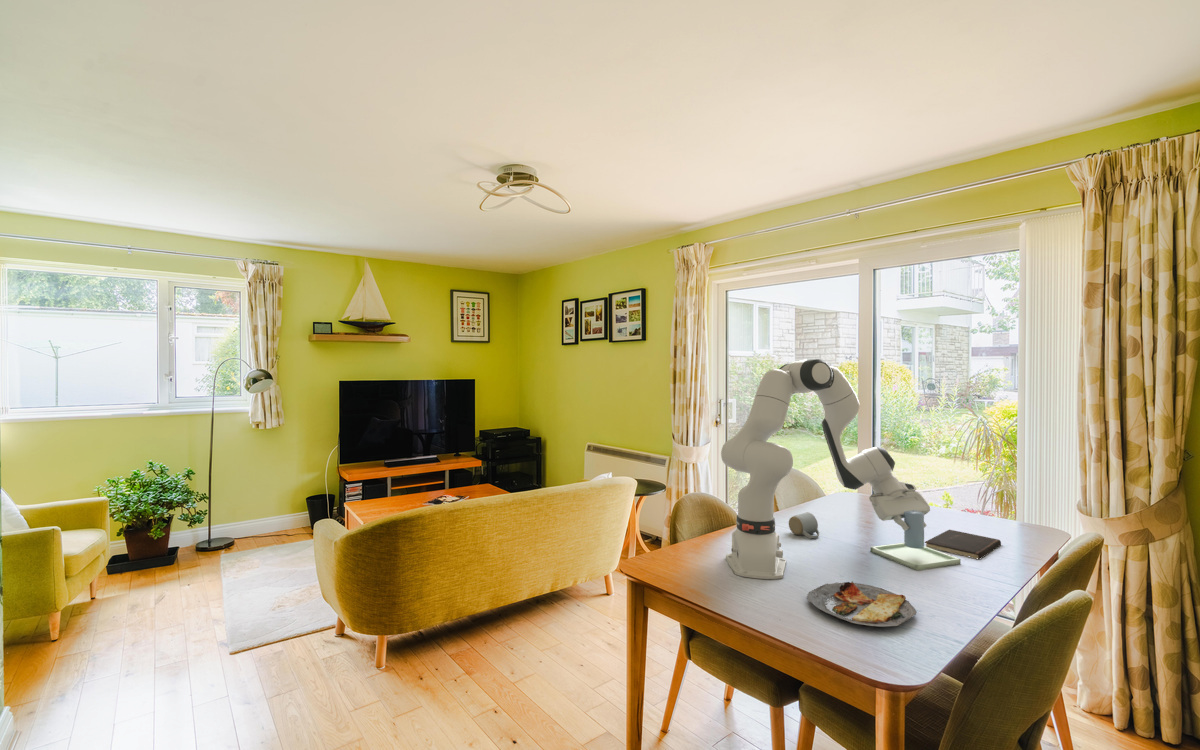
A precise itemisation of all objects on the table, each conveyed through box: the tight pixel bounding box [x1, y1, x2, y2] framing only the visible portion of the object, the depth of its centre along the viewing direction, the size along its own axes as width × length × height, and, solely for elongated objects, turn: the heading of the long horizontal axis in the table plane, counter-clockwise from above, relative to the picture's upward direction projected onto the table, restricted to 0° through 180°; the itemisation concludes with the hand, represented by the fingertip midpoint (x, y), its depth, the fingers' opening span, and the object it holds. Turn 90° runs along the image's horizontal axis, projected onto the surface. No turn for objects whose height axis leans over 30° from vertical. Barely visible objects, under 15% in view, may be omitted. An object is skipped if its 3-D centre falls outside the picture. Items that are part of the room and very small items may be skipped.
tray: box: [869, 542, 962, 571], centre depth 173 cm, size 18×18×2 cm
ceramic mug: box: [788, 512, 820, 539], centre depth 197 cm, size 11×8×8 cm
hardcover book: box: [924, 529, 1002, 560], centre depth 184 cm, size 16×23×2 cm
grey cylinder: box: [903, 510, 925, 549], centre depth 173 cm, size 6×6×11 cm
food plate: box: [806, 581, 917, 627], centre depth 136 cm, size 25×23×4 cm
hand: (915, 528), depth 173 cm, fingers closed on grey cylinder, 6 cm apart
